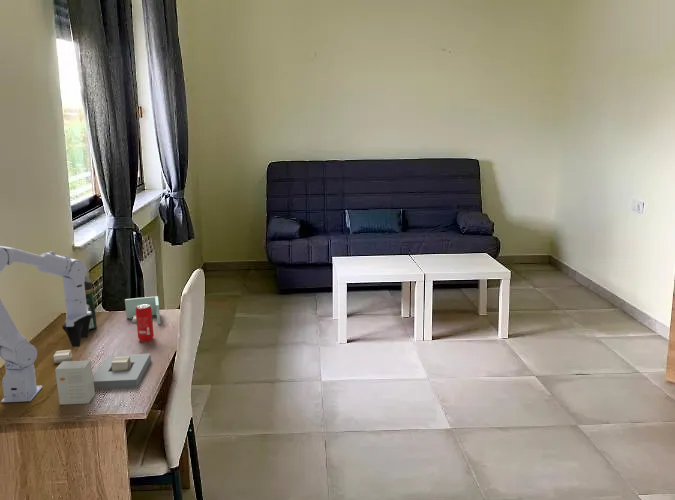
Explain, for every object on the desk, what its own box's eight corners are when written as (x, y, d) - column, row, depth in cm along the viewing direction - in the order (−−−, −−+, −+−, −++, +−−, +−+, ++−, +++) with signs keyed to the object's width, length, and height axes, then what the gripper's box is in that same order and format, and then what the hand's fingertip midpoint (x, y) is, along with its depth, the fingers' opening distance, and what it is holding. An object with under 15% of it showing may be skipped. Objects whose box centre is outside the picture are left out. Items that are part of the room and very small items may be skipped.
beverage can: (135, 340, 228) (131, 307, 225) (145, 336, 232) (142, 303, 229) (146, 343, 225) (143, 309, 222) (157, 338, 230) (154, 304, 227)
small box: (95, 395, 186) (91, 359, 183) (88, 404, 180) (84, 367, 178) (66, 396, 186) (62, 360, 183) (59, 405, 180) (54, 368, 178)
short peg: (69, 362, 211) (68, 354, 210) (54, 363, 210) (53, 355, 209) (71, 357, 215) (71, 349, 214) (57, 358, 214) (56, 350, 214)
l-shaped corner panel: (126, 318, 252) (124, 299, 251) (159, 314, 256) (157, 296, 254) (126, 328, 241) (124, 308, 240) (160, 324, 244) (158, 305, 243)
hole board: (137, 387, 190) (136, 379, 189) (90, 389, 189) (89, 381, 189) (150, 360, 209) (150, 353, 209) (108, 362, 209) (108, 355, 208)
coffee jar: (73, 325, 245) (67, 276, 241) (95, 321, 248) (90, 273, 244) (74, 333, 237) (68, 282, 232) (97, 329, 240) (92, 279, 235)
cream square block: (128, 377, 197) (126, 361, 196) (112, 378, 197) (111, 362, 196) (131, 371, 202) (130, 356, 200) (116, 372, 201) (115, 356, 200)
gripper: (81, 305, 191) (86, 349, 194) (96, 291, 205) (100, 333, 208) (56, 306, 191) (61, 350, 194) (73, 292, 205) (77, 333, 208)
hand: (80, 341), depth 201 cm, fingers open, 7 cm apart
